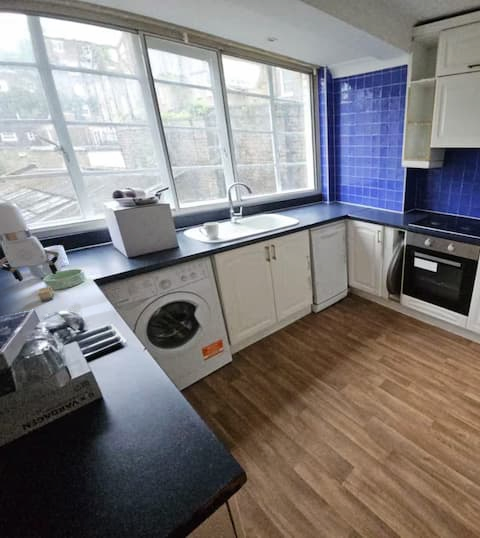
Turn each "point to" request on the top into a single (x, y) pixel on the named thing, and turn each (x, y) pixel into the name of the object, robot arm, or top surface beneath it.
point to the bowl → (64, 279)
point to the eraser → (46, 294)
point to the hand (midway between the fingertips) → (38, 276)
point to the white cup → (61, 256)
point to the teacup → (43, 269)
